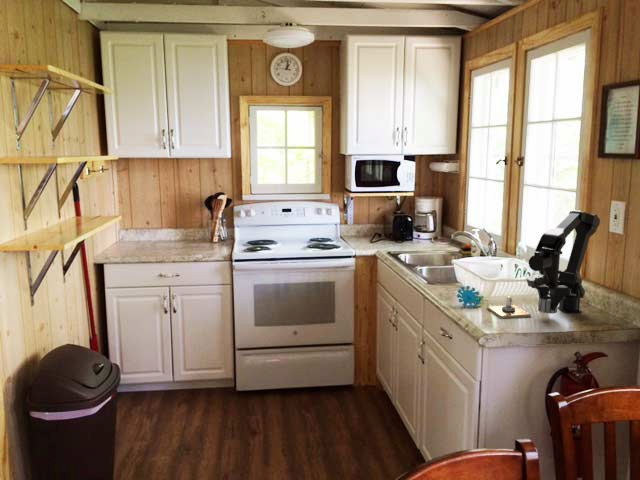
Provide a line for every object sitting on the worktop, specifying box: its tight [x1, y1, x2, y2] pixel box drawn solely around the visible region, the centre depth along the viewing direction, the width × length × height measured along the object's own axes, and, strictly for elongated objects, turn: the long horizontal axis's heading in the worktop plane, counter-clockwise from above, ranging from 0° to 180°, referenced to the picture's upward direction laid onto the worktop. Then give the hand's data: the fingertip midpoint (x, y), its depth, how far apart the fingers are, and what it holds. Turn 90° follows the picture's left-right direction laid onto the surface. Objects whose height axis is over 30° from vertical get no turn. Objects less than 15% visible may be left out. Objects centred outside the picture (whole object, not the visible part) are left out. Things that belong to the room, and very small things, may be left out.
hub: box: [537, 295, 559, 314], centre depth 206 cm, size 7×7×5 cm
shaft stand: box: [486, 296, 532, 319], centre depth 214 cm, size 12×12×6 cm
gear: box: [456, 285, 485, 309], centre depth 225 cm, size 11×6×10 cm
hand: (547, 307), depth 207 cm, fingers closed on hub, 7 cm apart
